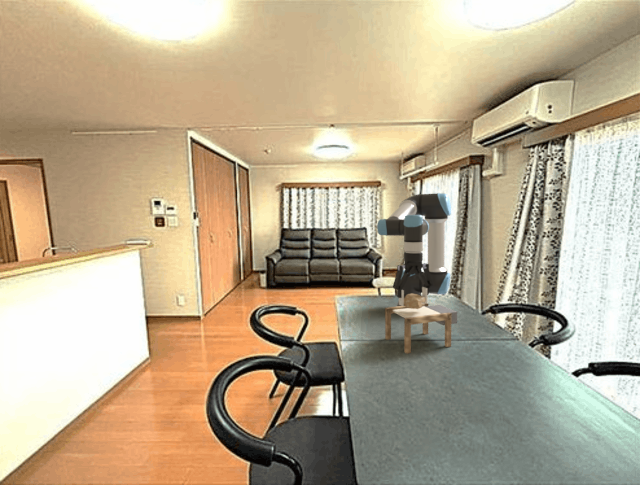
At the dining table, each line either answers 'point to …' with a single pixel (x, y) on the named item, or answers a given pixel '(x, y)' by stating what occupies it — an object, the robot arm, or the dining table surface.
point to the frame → (417, 320)
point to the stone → (414, 301)
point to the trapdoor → (427, 312)
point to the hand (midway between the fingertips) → (413, 303)
